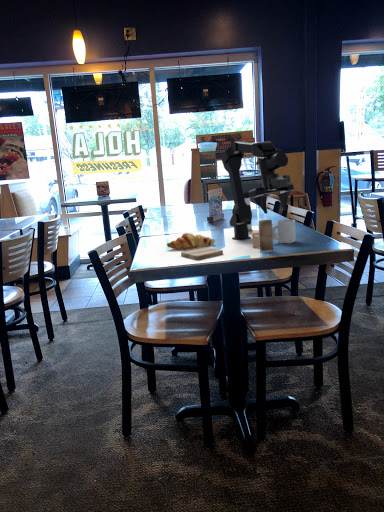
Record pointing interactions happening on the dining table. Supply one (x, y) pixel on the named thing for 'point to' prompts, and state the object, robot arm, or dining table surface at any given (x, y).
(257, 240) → the marked block
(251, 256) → the dining table surface
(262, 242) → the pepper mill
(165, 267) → the dining table surface
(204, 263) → the dining table surface
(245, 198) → the travel mug
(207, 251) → the walnut board
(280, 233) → the cup
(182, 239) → the croissant
